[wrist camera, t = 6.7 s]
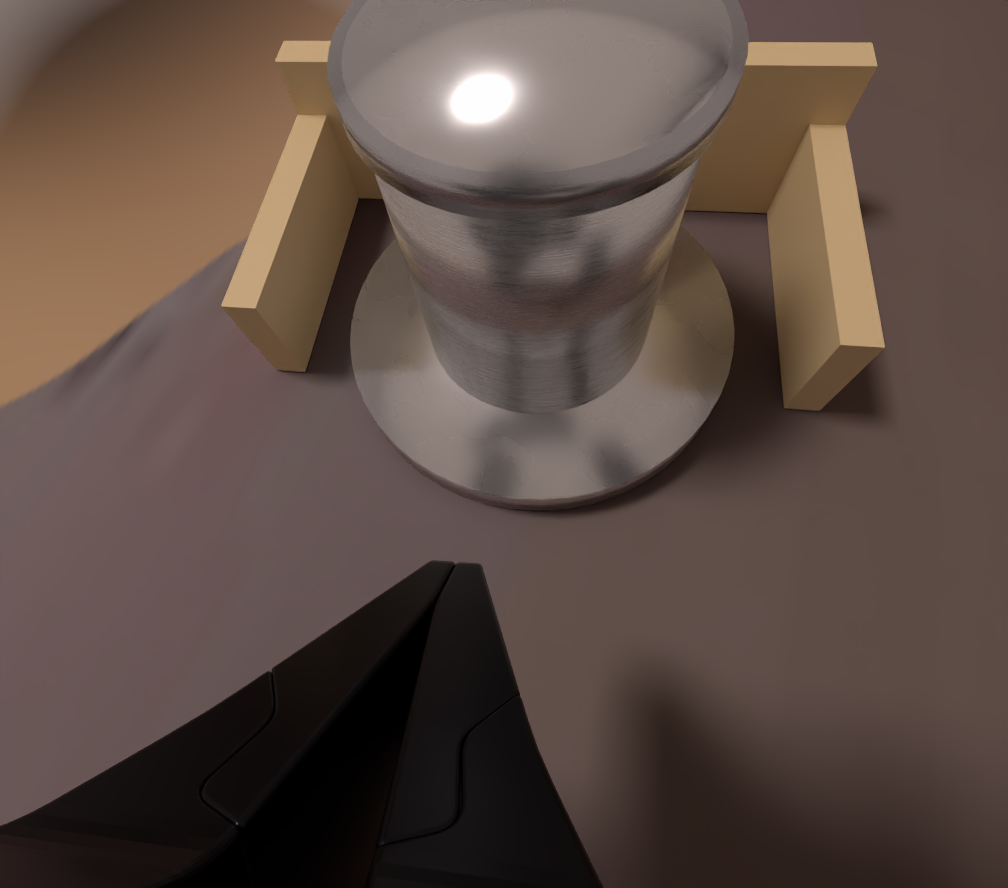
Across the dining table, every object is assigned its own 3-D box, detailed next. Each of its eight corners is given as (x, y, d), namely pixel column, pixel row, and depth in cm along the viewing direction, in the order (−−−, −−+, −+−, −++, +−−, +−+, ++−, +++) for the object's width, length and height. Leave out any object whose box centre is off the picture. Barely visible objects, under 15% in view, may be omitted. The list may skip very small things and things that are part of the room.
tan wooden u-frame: (819, 410, 19) (931, 303, 14) (276, 369, 21) (183, 263, 16) (793, 186, 23) (870, 35, 18) (342, 172, 26) (286, 33, 20)
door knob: (725, 534, 18) (965, 346, 8) (321, 487, 19) (78, 282, 9) (718, 215, 23) (854, -143, 13) (403, 199, 25) (306, -129, 15)
